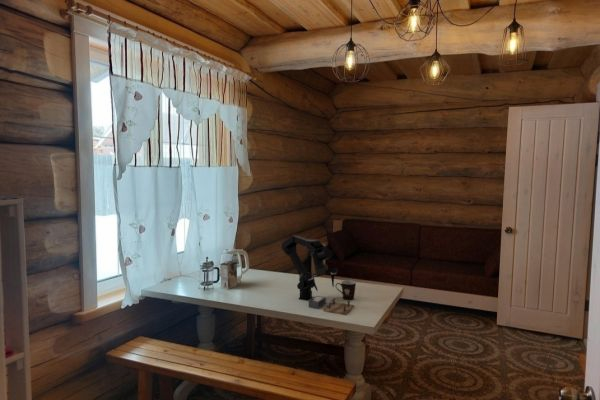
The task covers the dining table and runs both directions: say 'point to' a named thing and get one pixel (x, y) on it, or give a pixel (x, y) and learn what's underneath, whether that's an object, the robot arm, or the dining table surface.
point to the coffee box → (228, 274)
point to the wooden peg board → (339, 307)
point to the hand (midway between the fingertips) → (325, 289)
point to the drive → (317, 302)
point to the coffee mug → (347, 289)
